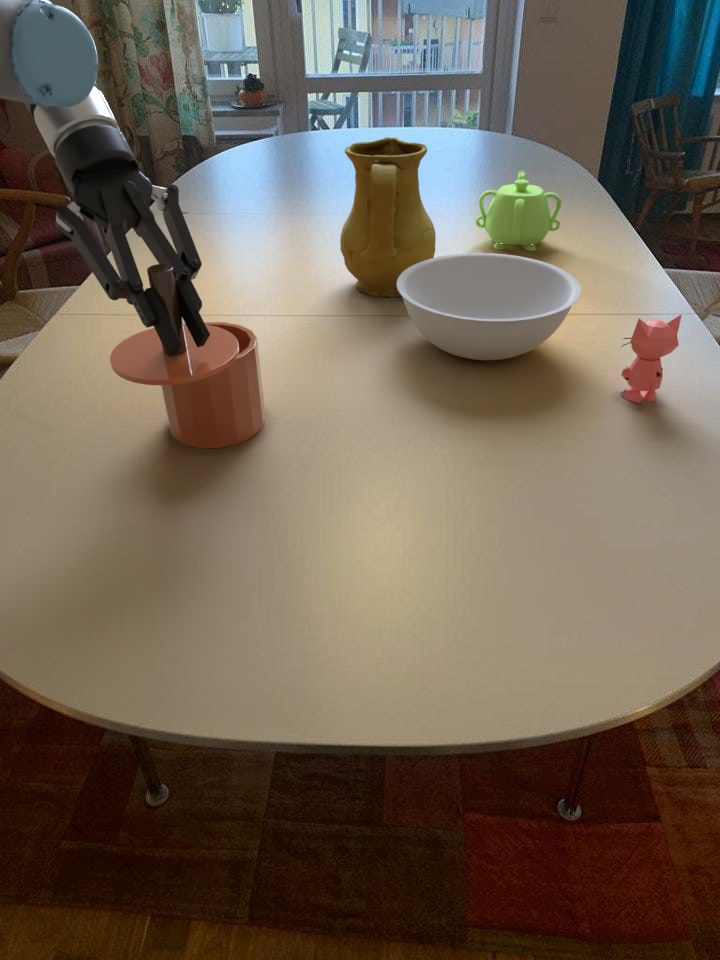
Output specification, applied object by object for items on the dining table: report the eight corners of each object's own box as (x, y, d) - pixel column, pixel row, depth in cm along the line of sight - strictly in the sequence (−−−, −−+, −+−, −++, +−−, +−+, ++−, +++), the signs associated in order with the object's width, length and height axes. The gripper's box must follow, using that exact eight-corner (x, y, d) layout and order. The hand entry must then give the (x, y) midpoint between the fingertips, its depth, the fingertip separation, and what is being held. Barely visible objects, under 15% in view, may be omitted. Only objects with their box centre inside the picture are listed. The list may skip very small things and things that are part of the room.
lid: (95, 391, 74) (69, 295, 68) (131, 333, 85) (112, 246, 79) (228, 390, 74) (215, 293, 68) (248, 332, 85) (237, 244, 79)
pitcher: (453, 277, 138) (454, 134, 123) (399, 315, 127) (392, 163, 112) (379, 262, 147) (371, 127, 132) (321, 297, 136) (305, 154, 120)
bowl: (565, 396, 102) (577, 330, 96) (376, 374, 108) (376, 310, 103) (574, 318, 123) (584, 260, 118) (415, 303, 130) (417, 247, 124)
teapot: (463, 237, 159) (467, 176, 152) (516, 226, 164) (522, 167, 157) (509, 259, 147) (515, 194, 140) (564, 247, 153) (573, 183, 145)
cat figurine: (653, 383, 105) (672, 303, 98) (677, 407, 99) (700, 324, 92) (606, 388, 104) (622, 307, 97) (628, 412, 99) (647, 329, 92)
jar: (159, 448, 93) (142, 366, 86) (180, 399, 103) (166, 322, 97) (258, 448, 93) (248, 365, 86) (269, 398, 103) (262, 321, 96)
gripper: (150, 156, 83) (244, 339, 82) (10, 181, 75) (112, 383, 75) (164, 110, 77) (265, 309, 76) (12, 132, 69) (123, 353, 68)
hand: (189, 345), depth 75 cm, fingers closed on lid, 3 cm apart
